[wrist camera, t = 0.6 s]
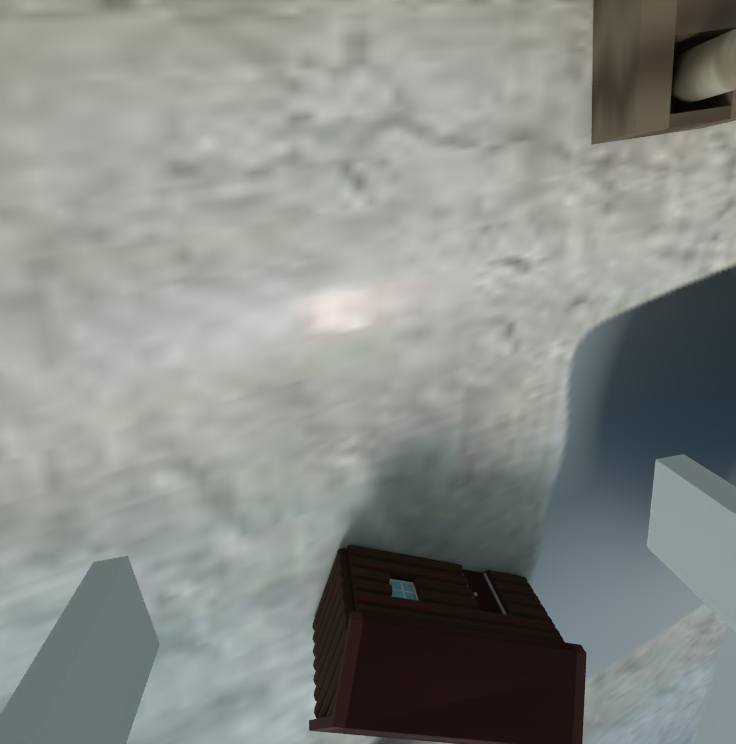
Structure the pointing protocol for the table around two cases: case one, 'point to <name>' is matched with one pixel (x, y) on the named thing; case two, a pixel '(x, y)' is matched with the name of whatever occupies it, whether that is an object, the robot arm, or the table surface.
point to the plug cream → (706, 69)
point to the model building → (441, 655)
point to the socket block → (652, 66)
